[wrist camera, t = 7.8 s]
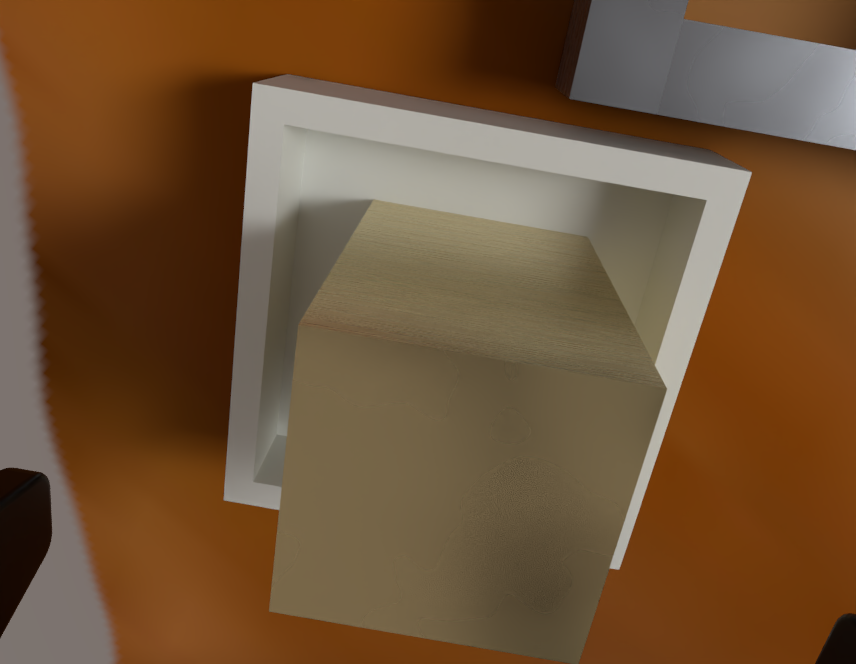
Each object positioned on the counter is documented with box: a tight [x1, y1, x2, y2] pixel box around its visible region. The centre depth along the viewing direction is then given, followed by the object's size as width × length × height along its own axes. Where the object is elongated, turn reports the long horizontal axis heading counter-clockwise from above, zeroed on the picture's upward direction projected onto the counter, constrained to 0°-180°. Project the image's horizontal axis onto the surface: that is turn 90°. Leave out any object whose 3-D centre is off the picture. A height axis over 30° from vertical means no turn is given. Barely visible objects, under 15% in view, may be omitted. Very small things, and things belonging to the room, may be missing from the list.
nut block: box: [269, 200, 667, 664], centre depth 13 cm, size 4×4×7 cm
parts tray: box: [224, 74, 752, 570], centre depth 16 cm, size 9×9×2 cm
